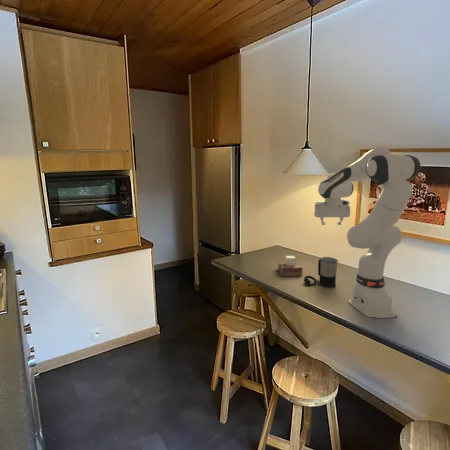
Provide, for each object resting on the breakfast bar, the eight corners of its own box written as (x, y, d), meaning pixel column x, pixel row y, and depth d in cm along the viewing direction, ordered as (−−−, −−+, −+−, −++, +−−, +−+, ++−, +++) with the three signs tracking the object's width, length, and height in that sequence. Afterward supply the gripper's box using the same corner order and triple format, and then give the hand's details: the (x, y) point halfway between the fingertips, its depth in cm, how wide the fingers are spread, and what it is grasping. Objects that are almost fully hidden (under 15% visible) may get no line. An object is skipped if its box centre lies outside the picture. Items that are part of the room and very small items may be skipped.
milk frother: (339, 286, 175) (341, 260, 171) (319, 291, 167) (320, 265, 164) (320, 277, 187) (322, 253, 184) (300, 282, 179) (301, 257, 176)
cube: (295, 266, 192) (295, 258, 191) (287, 266, 192) (287, 258, 191) (293, 263, 197) (293, 255, 196) (285, 263, 196) (285, 255, 195)
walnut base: (302, 275, 190) (302, 267, 189) (282, 276, 189) (282, 268, 188) (296, 268, 201) (297, 261, 200) (278, 269, 201) (278, 261, 200)
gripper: (316, 202, 178) (315, 225, 181) (352, 202, 179) (350, 225, 182) (313, 200, 185) (312, 223, 187) (347, 200, 185) (345, 223, 188)
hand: (331, 224), depth 185 cm, fingers open, 8 cm apart
